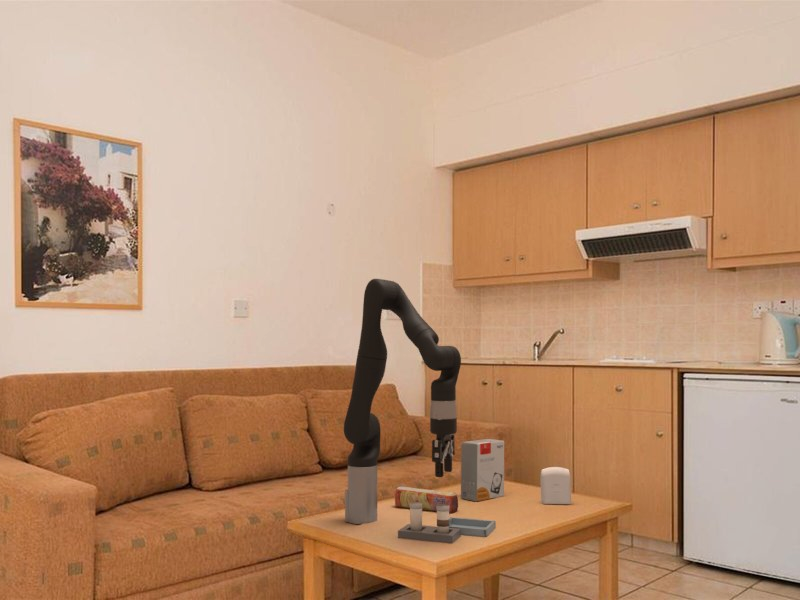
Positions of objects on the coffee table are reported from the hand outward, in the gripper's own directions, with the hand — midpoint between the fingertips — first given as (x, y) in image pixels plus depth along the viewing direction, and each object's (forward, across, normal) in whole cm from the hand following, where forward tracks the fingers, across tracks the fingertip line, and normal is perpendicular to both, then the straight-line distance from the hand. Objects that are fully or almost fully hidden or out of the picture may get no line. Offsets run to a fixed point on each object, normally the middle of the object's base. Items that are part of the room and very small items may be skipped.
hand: (443, 474), depth 209 cm
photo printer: (+18, -57, +23) cm, 64 cm away
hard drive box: (+18, -59, -3) cm, 62 cm away
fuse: (+18, 0, -8) cm, 19 cm away
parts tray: (+18, -11, +4) cm, 21 cm away
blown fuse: (+18, 0, 0) cm, 18 cm away
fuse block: (+18, 0, -4) cm, 19 cm away
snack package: (+19, -35, -17) cm, 43 cm away
